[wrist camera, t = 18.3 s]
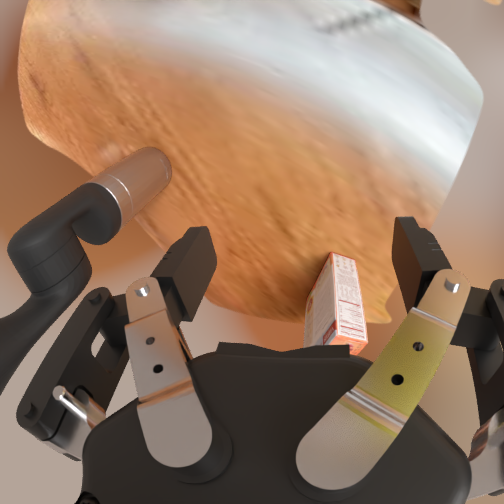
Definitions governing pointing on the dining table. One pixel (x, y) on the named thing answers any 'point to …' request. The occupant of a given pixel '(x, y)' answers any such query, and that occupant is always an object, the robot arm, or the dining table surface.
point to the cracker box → (336, 307)
